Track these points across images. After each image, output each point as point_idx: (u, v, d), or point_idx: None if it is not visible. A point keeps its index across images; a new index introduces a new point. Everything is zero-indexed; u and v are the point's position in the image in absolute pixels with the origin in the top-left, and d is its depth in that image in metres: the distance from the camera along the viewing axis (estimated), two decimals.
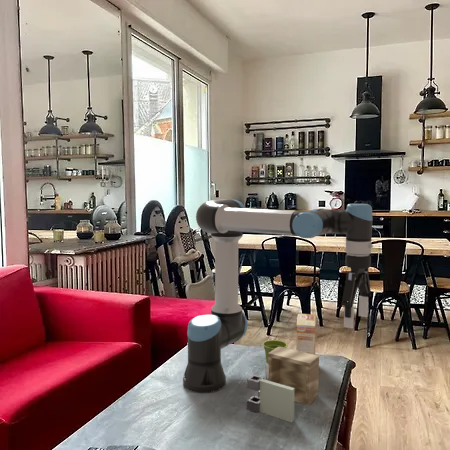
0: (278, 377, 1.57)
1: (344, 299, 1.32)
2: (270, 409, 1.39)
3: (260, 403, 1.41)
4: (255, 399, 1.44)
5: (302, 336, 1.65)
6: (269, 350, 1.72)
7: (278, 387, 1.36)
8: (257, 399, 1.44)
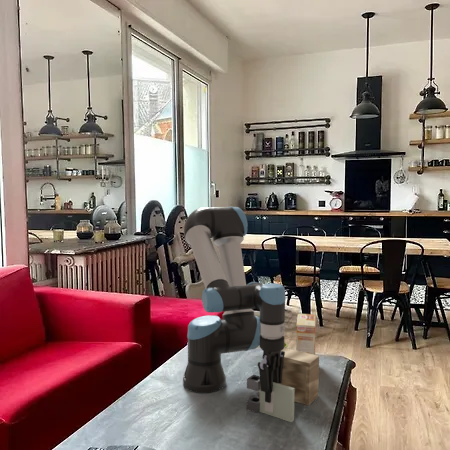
0: None
1: (262, 387, 1.35)
2: None
3: (260, 403, 1.41)
4: (255, 399, 1.44)
5: (302, 336, 1.65)
6: None
7: (278, 387, 1.36)
8: (257, 399, 1.44)
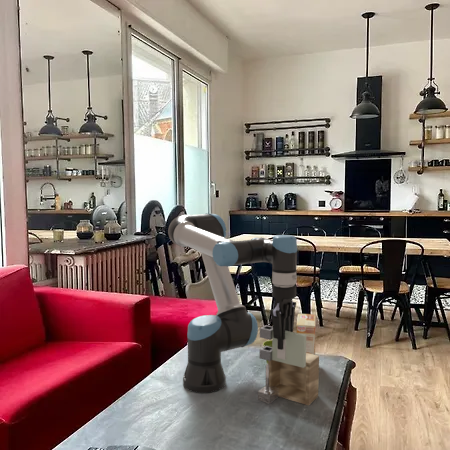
0: (278, 377, 1.57)
1: (275, 334, 1.40)
2: None
3: (272, 351, 1.45)
4: (267, 349, 1.49)
5: None
6: None
7: (290, 334, 1.41)
8: (269, 349, 1.48)
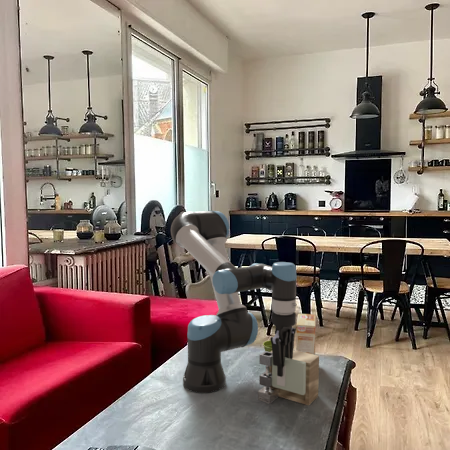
0: None
1: (274, 361, 1.40)
2: None
3: (272, 378, 1.46)
4: None
5: (302, 336, 1.65)
6: (269, 350, 1.72)
7: (290, 361, 1.42)
8: (269, 375, 1.49)
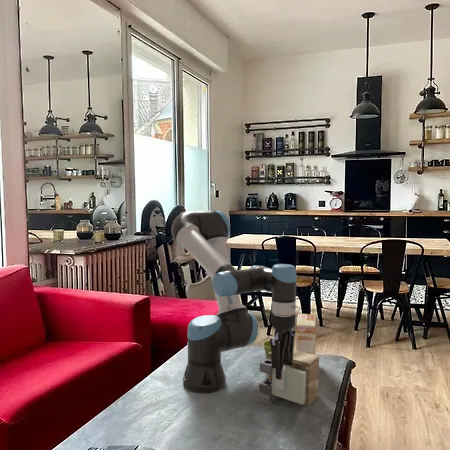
0: None
1: (273, 363, 1.39)
2: (282, 392, 1.44)
3: (272, 386, 1.46)
4: None
5: (302, 336, 1.65)
6: (269, 350, 1.72)
7: (290, 371, 1.41)
8: (269, 382, 1.49)
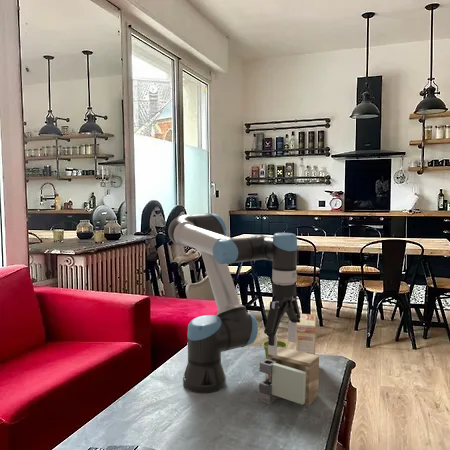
0: None
1: (267, 328, 1.36)
2: (282, 392, 1.44)
3: (272, 386, 1.46)
4: None
5: (302, 336, 1.65)
6: None
7: (290, 371, 1.41)
8: (269, 382, 1.49)
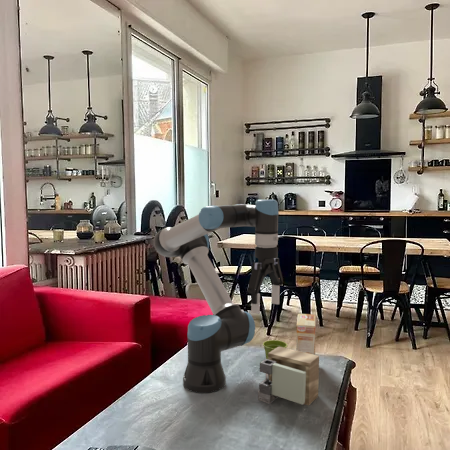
0: None
1: (249, 287, 1.44)
2: (282, 392, 1.44)
3: (272, 386, 1.46)
4: None
5: (302, 336, 1.65)
6: (269, 350, 1.72)
7: (290, 371, 1.41)
8: (269, 382, 1.49)
